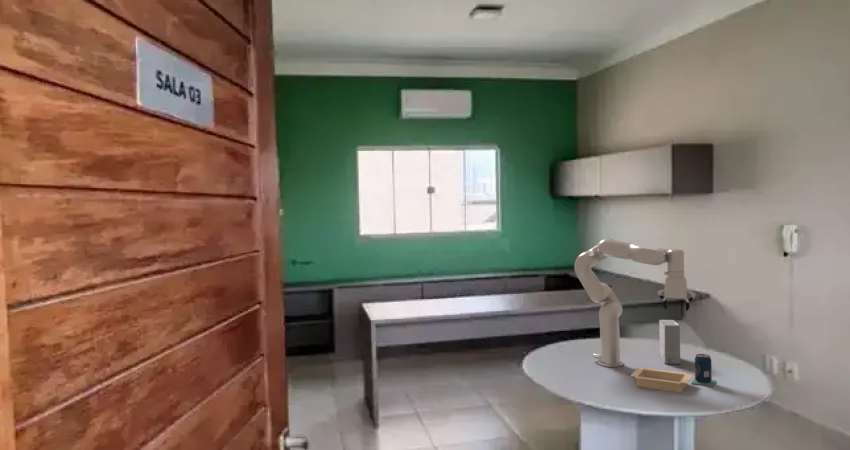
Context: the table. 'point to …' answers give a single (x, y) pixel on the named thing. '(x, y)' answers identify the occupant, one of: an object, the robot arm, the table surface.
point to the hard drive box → (669, 341)
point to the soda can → (703, 368)
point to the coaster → (704, 383)
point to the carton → (661, 379)
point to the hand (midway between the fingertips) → (676, 309)
